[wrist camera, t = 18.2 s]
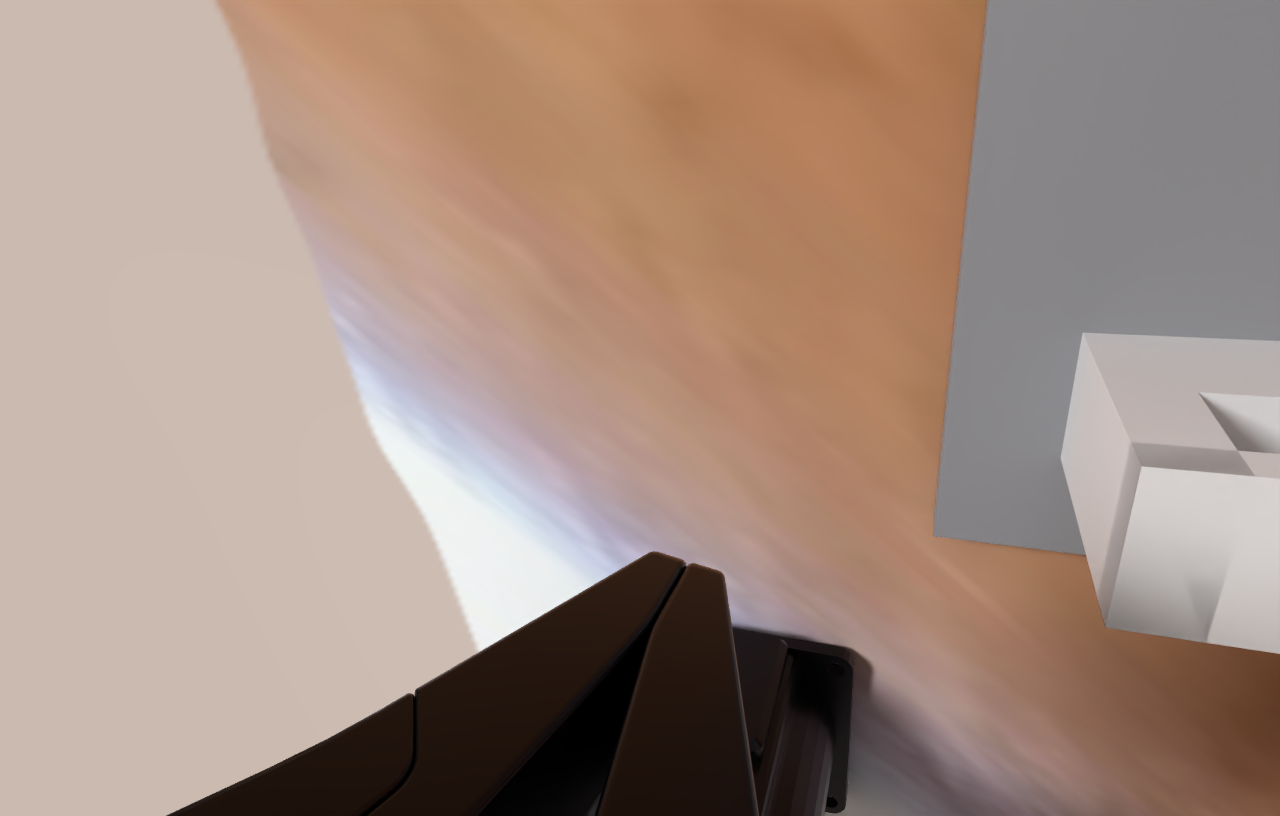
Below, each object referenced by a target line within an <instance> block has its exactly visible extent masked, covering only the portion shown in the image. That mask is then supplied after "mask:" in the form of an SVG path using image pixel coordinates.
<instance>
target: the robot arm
mask: <svg viewBox="0 0 1280 816" xmlns="http://www.w3.org/2000/svg"><path fill="white" fill-rule="evenodd" d="M831 663H838V664H840V665H842V667H836V666H833V665H832V664H831ZM854 668H855V662H854V658H853V656H852V655H851V654H850V653H849V652H848V651H846V650H845V649H842V648H839V647H835V646H829V645H823V644H818V643H812V642H806V641H800V640H795V639H789V638H783V637H777V636H772V635H766V634H760V633H754V632H749V631H743V630H737V629H732V624H731V617H730V610H729V603H728V596H727V589H726V583H725V577H724V575H723V573H722V572H720V571H718V570H714V569H711V568H708V567H705V566H702V565H698V564H695V563H692V564H689V565H688V566H686V563H685V561H684V560H682V559H679V558H676V557H673V556H669V555H666V554H663V553H660V552H655V551H654V552H650V553H648V554H646V555H644V556H642V557H641V558H639V559H637V560H636V561H634V562H632V563H630V564H629V565H627V566H625V567H624V568H622V569H620V570H618V571H617V572H615V573H613V574H612V575H610V576H608V577H607V578H605V579H603V580H601V581H600V582H598V583H596V584H595V585H593V586H591V587H589V588H588V589H586V590H584V591H583V592H581V593H579V594H578V595H576V596H574V597H572V598H571V599H569V600H567V601H566V602H564V603H562V604H560V605H559V606H557V607H555V608H554V609H552V610H550V611H549V612H547V613H545V614H543V615H542V616H540V617H538V618H537V619H535V620H533V621H531V622H530V623H528V624H526V625H525V626H523V627H521V628H519V629H518V630H516V631H514V632H513V633H511V634H509V635H508V636H506V637H504V638H502V639H501V640H499V641H497V642H496V643H494V644H492V645H490V646H489V647H487V648H485V649H484V650H482V651H480V652H479V653H477V654H475V655H473V656H472V657H470V658H468V659H467V660H465V661H463V662H462V663H460V664H458V665H457V666H455V667H453V668H451V669H450V670H448V671H446V672H445V673H443V674H441V675H439V676H438V677H436V678H434V679H433V680H431V681H429V682H427V683H426V684H424V685H422V686H421V687H419V688H417V689H416V690H415V697H414V695H413V694H411V693H408V694H406V695H405V696H403V697H401V698H400V699H398V700H396V701H394V702H393V703H391V704H389V705H387V706H386V707H384V708H382V709H381V710H379V711H377V712H376V713H374V714H372V715H370V716H368V717H366V718H365V719H363V720H361V721H359V722H357V723H355V724H354V725H352V726H350V727H348V728H346V729H345V730H343V731H341V732H339V733H337V734H336V735H334V736H332V737H330V738H328V739H326V740H324V741H323V742H320V743H318V744H316V745H315V746H312V747H310V748H308V749H306V750H304V751H302V752H300V753H298V754H296V755H294V756H292V757H290V758H288V759H286V760H284V761H282V762H280V763H278V764H276V765H274V766H272V767H270V768H267V769H265V770H263V771H261V772H259V773H257V774H255V775H253V776H250V777H248V778H246V779H244V780H242V781H239V782H237V783H235V784H233V785H231V786H229V787H227V788H224V789H222V790H220V791H219V792H216V793H214V794H212V795H210V796H207V797H205V798H203V799H201V800H199V801H197V802H194V803H192V804H190V805H188V806H186V807H184V808H182V809H180V810H177V811H175V812H173V813H171V814H169V815H167V816H824V814H825V812H829V813H839V812H841V811H843V810H844V809H845V806H846V799H847V786H848V770H849V753H850V736H851V719H852V702H853V685H854ZM830 796H831V797H830Z"/></svg>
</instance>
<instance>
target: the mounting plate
mask: <svg viewBox="0 0 1280 816" xmlns="http://www.w3.org/2000/svg"><path fill="white" fill-rule="evenodd" d="M934 536H936V537H944V538H952V539H960V540H968V541H976V542H984V543H992V544H1000V545H1008V546H1017V547H1025V548H1033V549H1041V550H1049V551H1057V552H1065V553H1073V554H1081V555H1086V556H1087V560H1088V564H1089V568H1090V572H1091V575H1092V579H1093V583H1094V587H1095V590H1096V594H1097V598H1098V602H1099V606H1100V609H1101V613H1102V617H1103V621H1104V625H1105V628H1111V629H1118V630H1124V631H1131V632H1138V633H1144V634H1151V635H1158V636H1164V637H1171V638H1178V639H1184V640H1191V641H1198V642H1204V643H1211V644H1218V645H1224V646H1231V647H1238V648H1244V649H1251V650H1258V651H1264V652H1271V653H1278V654H1280V0H987V5H986V15H985V24H984V34H983V44H982V53H981V63H980V73H979V83H978V92H977V102H976V112H975V121H974V131H973V141H972V151H971V160H970V170H969V180H968V189H967V199H966V209H965V219H964V228H963V238H962V248H961V257H960V267H959V277H958V287H957V296H956V306H955V316H954V325H953V335H952V345H951V355H950V364H949V374H948V384H947V393H946V403H945V413H944V423H943V432H942V442H941V452H940V461H939V471H938V481H937V491H936V500H935V510H934Z"/></svg>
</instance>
